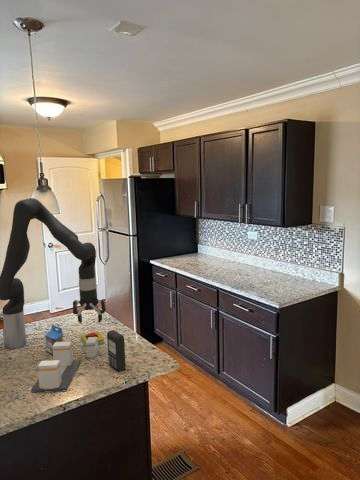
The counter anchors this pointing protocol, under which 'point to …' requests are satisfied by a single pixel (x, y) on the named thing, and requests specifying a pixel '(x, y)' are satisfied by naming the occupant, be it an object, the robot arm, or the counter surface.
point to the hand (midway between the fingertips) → (90, 322)
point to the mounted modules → (55, 365)
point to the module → (91, 347)
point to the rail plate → (66, 378)
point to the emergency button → (93, 334)
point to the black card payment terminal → (116, 350)
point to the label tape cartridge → (53, 338)
